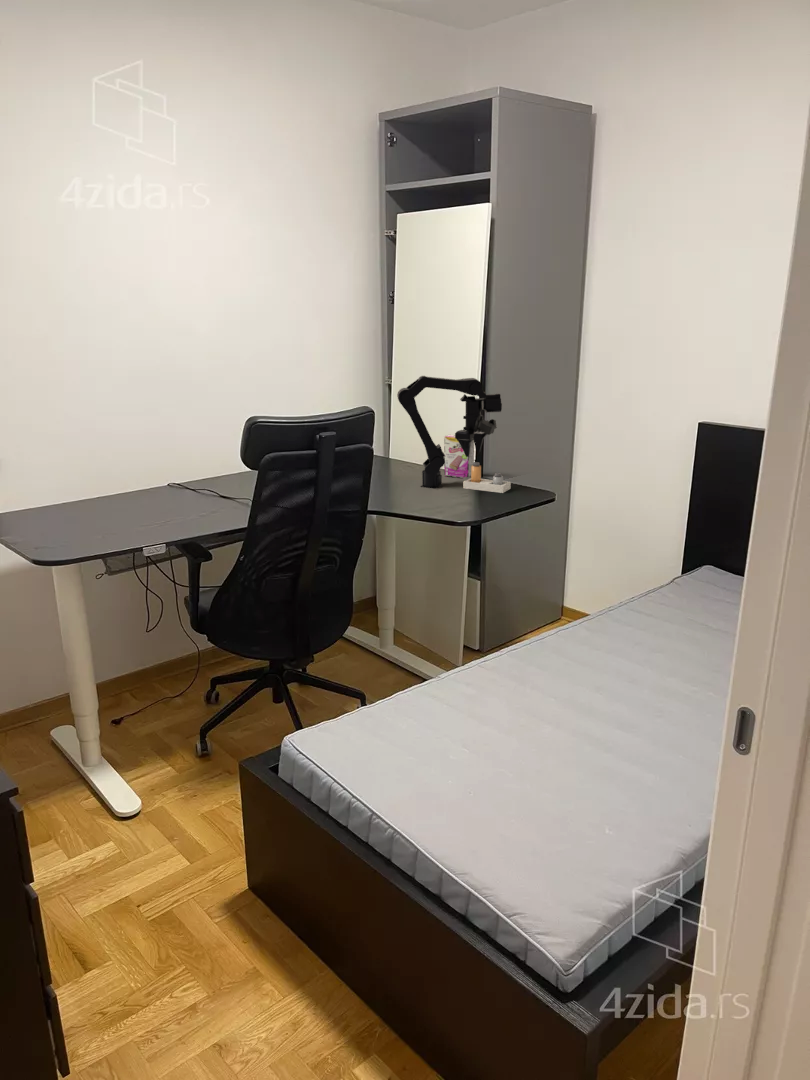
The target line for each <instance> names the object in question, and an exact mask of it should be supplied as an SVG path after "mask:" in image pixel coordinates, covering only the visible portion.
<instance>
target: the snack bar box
mask: <svg viewBox="0 0 810 1080" xmlns="http://www.w3.org/2000/svg"><path fill="white" fill-rule="evenodd" d="M443 437H444V438H443V439H444V440H443V441H444V442H443V443H444V444H443V445H444V451H443V452H444V454H445V457H444V458H445V463H444V465H443V466H444V470H443V471H444V474H443V475H450V476H456V477H463V478H462V479H464V478H471V466H472V465H473V463H474V462H475V443H474V440H473V441H472V442H471V446H470V454H469V457H466V455H465V453H464V451H463V449H462V447H461V445H460V443H459V442H458V441H457V439H455V434H448V435H445V436H443Z"/></svg>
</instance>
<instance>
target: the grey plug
mask: <svg viewBox="0 0 810 1080" xmlns="http://www.w3.org/2000/svg"><path fill="white" fill-rule="evenodd" d="M492 480H493V484H494V485H503V481H504V476H503V475H502V473H501V472H496V473H494V475H493V477H492Z"/></svg>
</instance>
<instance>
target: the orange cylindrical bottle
mask: <svg viewBox="0 0 810 1080" xmlns="http://www.w3.org/2000/svg"><path fill="white" fill-rule="evenodd" d="M470 478H471V482H477V483H479V482H481V479H482V465H480V462H478V461H474V463H473V465H472V466H471V476H470Z"/></svg>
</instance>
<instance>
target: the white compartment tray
mask: <svg viewBox="0 0 810 1080" xmlns="http://www.w3.org/2000/svg"><path fill="white" fill-rule="evenodd" d="M462 483H463V484H462V485H463V487H462V489H465V490H466V489H467V490H472V491H473V490H475V491H482V492H492V493H499V494H504V493H506V492H508V491H509V490H511V487H512V486H511V484H512V482H511V481H505V480H503V485H494V484H493V479H486V478H481V482H479V483H477V482H471V477H469V478H468V479H465V480H464V481H463V482H462Z"/></svg>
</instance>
